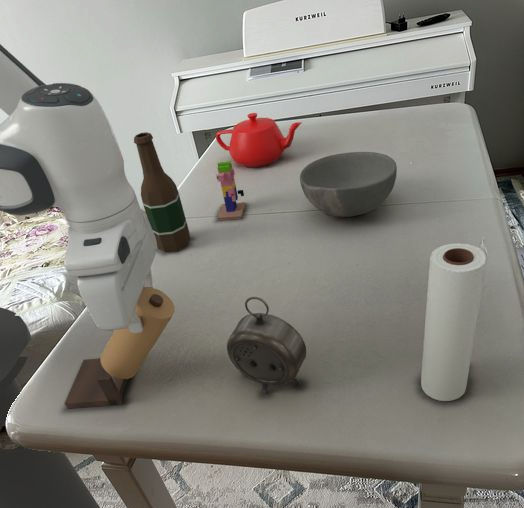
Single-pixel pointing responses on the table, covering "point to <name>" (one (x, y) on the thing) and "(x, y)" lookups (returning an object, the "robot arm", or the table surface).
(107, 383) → the stand
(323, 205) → the bowl
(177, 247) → the beer bottle
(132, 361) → the tan cylinder
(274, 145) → the teapot
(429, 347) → the paper towel roll
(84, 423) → the table surface
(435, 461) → the table surface
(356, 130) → the table surface
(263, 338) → the alarm clock
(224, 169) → the figurine
